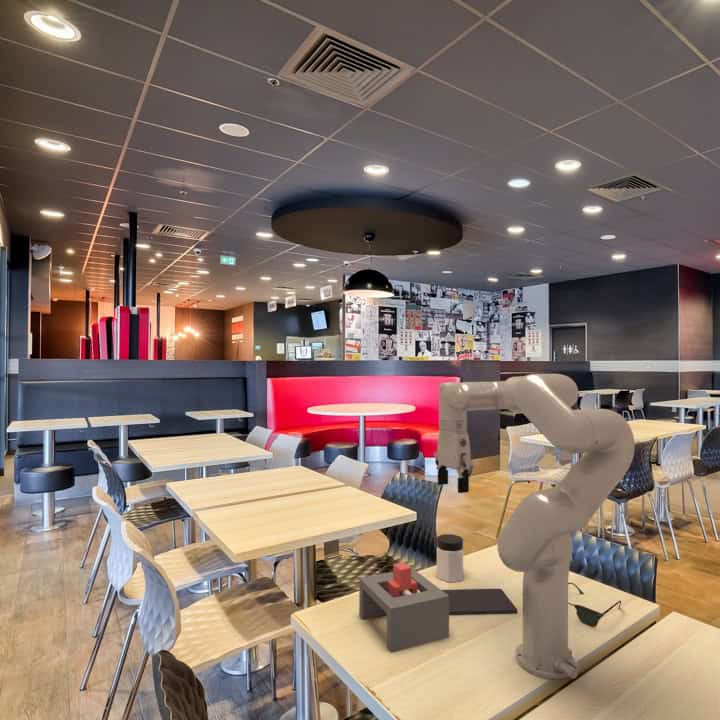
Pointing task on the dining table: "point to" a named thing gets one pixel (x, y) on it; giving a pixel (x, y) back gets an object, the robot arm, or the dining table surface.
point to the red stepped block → (401, 580)
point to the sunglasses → (589, 613)
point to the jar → (450, 558)
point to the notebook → (479, 602)
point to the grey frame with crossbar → (406, 610)
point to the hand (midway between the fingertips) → (452, 488)
